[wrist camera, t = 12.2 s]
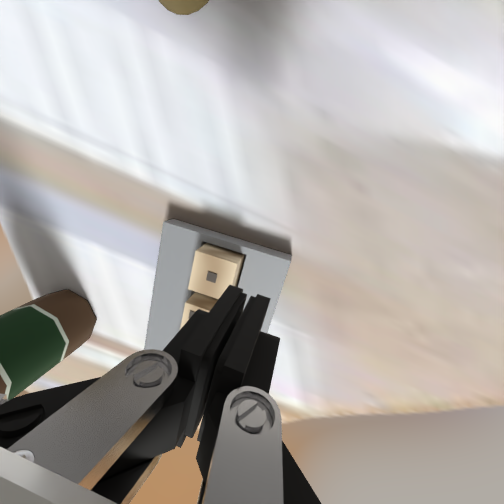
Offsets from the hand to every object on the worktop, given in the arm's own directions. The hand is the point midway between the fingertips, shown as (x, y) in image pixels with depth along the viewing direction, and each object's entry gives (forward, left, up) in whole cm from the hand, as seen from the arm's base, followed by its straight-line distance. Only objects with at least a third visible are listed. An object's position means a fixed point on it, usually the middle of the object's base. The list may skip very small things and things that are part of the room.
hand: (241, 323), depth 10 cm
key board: (+5, +10, -17) cm, 20 cm away
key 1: (+5, +5, -16) cm, 17 cm away
